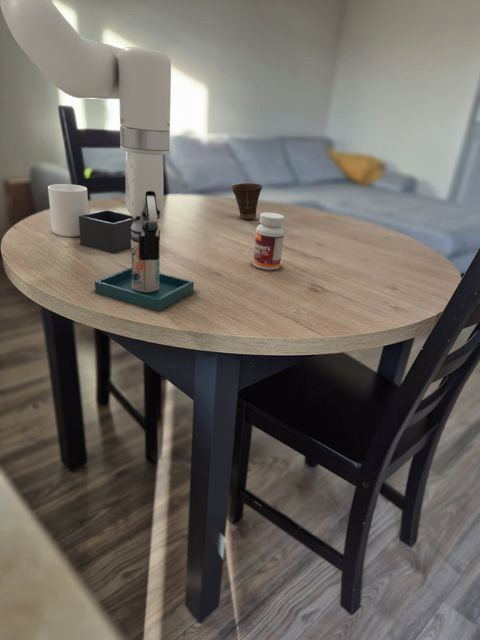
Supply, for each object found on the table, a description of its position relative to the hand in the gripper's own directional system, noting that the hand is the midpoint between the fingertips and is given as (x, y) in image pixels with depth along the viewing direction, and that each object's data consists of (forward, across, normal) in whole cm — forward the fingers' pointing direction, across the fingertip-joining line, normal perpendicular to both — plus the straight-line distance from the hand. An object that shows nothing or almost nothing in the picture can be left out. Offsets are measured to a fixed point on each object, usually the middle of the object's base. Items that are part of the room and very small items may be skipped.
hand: (145, 252), depth 83 cm
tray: (+7, 0, 0) cm, 7 cm away
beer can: (+7, 0, 0) cm, 7 cm away
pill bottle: (+8, -13, +29) cm, 32 cm away
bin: (+7, -29, -3) cm, 30 cm away
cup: (+8, -57, +38) cm, 69 cm away
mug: (+8, -41, -12) cm, 43 cm away
